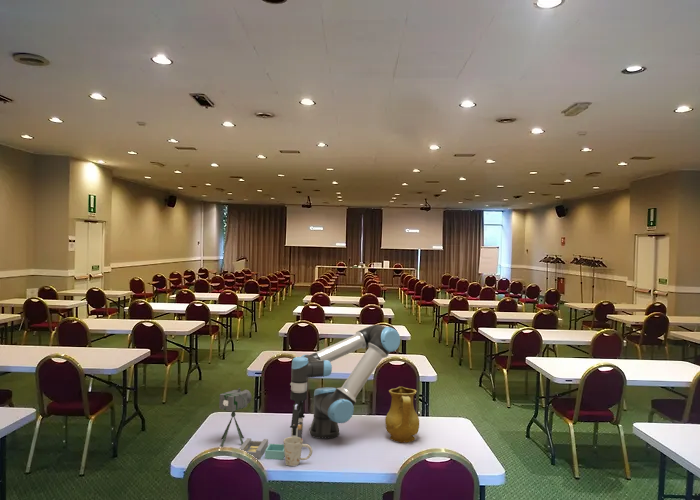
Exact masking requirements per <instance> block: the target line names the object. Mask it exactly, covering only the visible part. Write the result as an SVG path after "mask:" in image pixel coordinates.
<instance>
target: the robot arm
mask: <svg viewBox="0 0 700 500" xmlns="http://www.w3.org/2000/svg"><path fill="white" fill-rule="evenodd" d="M400 344H401V336H400V333H399V332H398V330H397V329H395V328H393V327H391V326H385V325H380V324H373V325H370V326H367V327H364V328H363V329H360V330H358V331H355V334H354V335H352V336H348V337H347V338H345V339H342V340H340V341H337V342H336V343H334V344H331V345H329V346H327V347H325V348H323V349H320V350H318V351H316V352H313V353H310V354H303V355H301V356H296V357H293V358H292V361H291V380H290V381H291V382H290V383H289V386H291V387H290V390H291V391H290V400H291V401H294V403H293V405H292V417H291V423H290V426H289V428H290V429H291V435H290V437H298V421H299V422H302V431H304V430H303V425H304V423H303V422H304V418H306V417H305V414H304V413H305V409H304V401H306V400H307V397H308V395H307V394H308V392H307V390H308V378H321V377H322V378H324V377H329V376H331V374H332V370H333V366H332V363H331V362H333V361H335V360H337V359H340V358H342V357H344V356H347V355H348V354H350V353H353V352H355V351H357V350H361V349H366V348H367V350H366V351H365V353H364V354H363V356H362V357H361V358H360V360H359V361H358V362H357V364H356V366H355V367H354V369H352V372H350V374H349V375H348V377H347V378H346V379H345V381H344V383H343V384H342V386H341V387H337V388H336V387H330V386H329V387H326V386H325V387H318V388H316V389H314V391H313V392H314V393H313V417H312V418H313V419H312V421H311V424H310V428H309V435H310V436H311V437H313V438H317V439H322V440H323V439H327V440H328V439H334V438H336V437H338V436H339V435H340V427H339V424H344V423H347V422H349V420H351V419H352V418H353V415H354V409H355V407H354V406H355V405H356V403H357V399H356V398H357V397H358V395H359V393H360V391H362V389H363V387H364V386H365V385H366V383H367V381H368V380H369V379H370V377H371V376H372V374H373V373H374V371H375V370H376V368H377V367H378V365H379V364H380V363H381V361H382V359H385V358H387V357H388V356H389V354H390V353H392V352H395V351H397V350H398V348H399V347H400Z"/></svg>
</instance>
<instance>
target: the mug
mask: <svg viewBox="0 0 700 500" xmlns="http://www.w3.org/2000/svg"><path fill="white" fill-rule="evenodd" d="M303 442H304V439H303V437H302V438H300V437H291V436H289V437H285V438H284V439H283V444H284V452H285V457H284V460H285V465H286V466H289V467H296V466H298V465H300V463H301V461H305V460H308V459H310V458H311V457H312V455H313V448H312V447H311V445H310V444H307V443H303ZM303 448H307V449H308V451H309V453H308V455H307V456H306V457H302V449H303Z"/></svg>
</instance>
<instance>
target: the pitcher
mask: <svg viewBox="0 0 700 500" xmlns="http://www.w3.org/2000/svg"><path fill="white" fill-rule="evenodd" d="M388 392H389V394H390V396H391V401H390V402H391V403H390V407H389V410H388V412H387V414H386V415H385V419H384V423H385V424H384V425H385V429H386V432H387V433H388V434H389V435H390V437H389V439H390V440H391V441H393V442H395V443H400V444H401V443H412V442H414V441H415V440H416V438H415V435H417V434H418V432H419V430H420V429H419V428H420V418H419V415H418V414H417V412H416V410H415V406H414V396H415V395H416V394H417V390H416V389H413V388H408V387H404V386H400V385H399V386H398V387H396V388H391V389H389V390H388Z"/></svg>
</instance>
